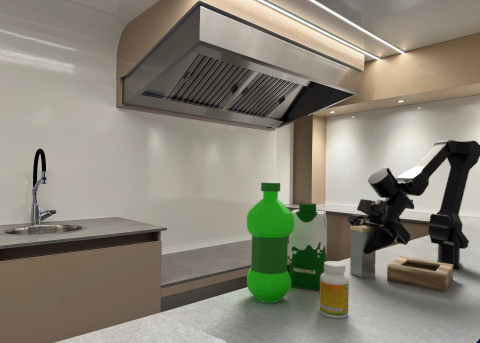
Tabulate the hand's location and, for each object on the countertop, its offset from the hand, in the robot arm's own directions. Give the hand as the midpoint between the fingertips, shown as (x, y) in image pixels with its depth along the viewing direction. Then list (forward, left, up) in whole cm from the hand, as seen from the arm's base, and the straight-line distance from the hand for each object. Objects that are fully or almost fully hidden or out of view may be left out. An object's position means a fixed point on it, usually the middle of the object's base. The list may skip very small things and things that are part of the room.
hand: (358, 251), depth 91 cm
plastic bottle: (+30, -9, -7) cm, 32 cm away
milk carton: (+16, -7, -7) cm, 19 cm away
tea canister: (-1, +1, -7) cm, 7 cm away
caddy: (-7, +14, -7) cm, 17 cm away
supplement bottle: (+28, +5, -7) cm, 30 cm away
